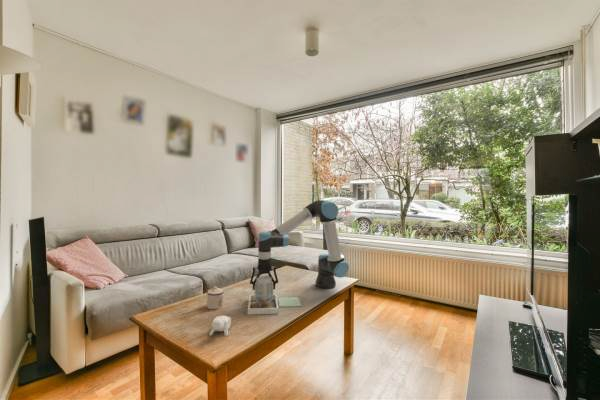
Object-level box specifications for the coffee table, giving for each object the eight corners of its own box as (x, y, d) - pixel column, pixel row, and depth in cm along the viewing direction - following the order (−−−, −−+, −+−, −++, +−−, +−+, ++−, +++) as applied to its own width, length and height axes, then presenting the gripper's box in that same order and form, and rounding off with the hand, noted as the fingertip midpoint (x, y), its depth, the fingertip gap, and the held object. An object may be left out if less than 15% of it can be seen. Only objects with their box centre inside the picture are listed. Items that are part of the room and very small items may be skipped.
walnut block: (266, 308, 159) (266, 300, 159) (268, 312, 154) (268, 303, 154) (258, 309, 158) (258, 300, 158) (259, 313, 153) (259, 304, 153)
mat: (298, 298, 176) (298, 297, 176) (301, 306, 163) (301, 305, 163) (278, 298, 175) (278, 297, 175) (279, 307, 162) (279, 306, 162)
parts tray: (276, 299, 173) (276, 294, 173) (278, 313, 153) (278, 308, 153) (249, 299, 171) (249, 295, 171) (247, 314, 150) (247, 309, 150)
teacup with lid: (222, 309, 156) (222, 289, 156) (205, 310, 155) (205, 289, 154) (224, 301, 168) (224, 282, 168) (208, 301, 166) (209, 282, 166)
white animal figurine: (214, 333, 135) (204, 336, 121) (216, 314, 138) (207, 316, 124) (231, 333, 135) (224, 337, 121) (233, 315, 138) (226, 316, 124)
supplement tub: (269, 297, 172) (270, 273, 171) (273, 302, 163) (274, 278, 162) (254, 298, 168) (254, 275, 168) (257, 304, 159) (257, 279, 159)
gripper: (282, 256, 170) (281, 291, 171) (246, 256, 167) (245, 293, 168) (283, 259, 163) (282, 296, 163) (245, 259, 160) (244, 297, 160)
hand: (264, 294), depth 166 cm, fingers closed on supplement tub, 10 cm apart
